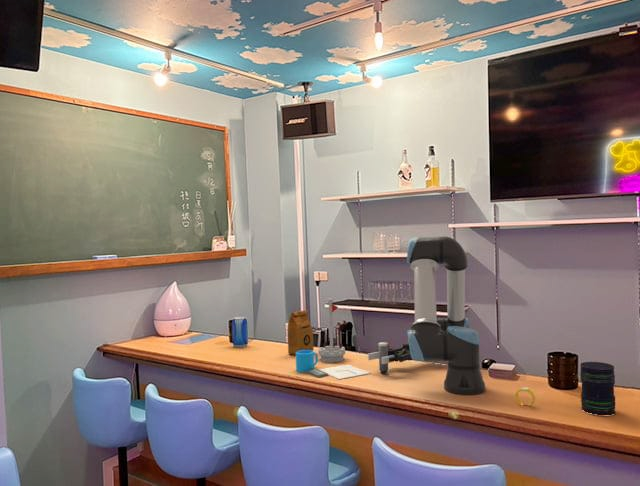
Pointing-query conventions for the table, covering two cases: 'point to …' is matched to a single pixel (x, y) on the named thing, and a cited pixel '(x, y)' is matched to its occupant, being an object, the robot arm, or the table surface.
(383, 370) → the marker
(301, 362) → the mug
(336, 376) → the paper
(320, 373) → the dark grey flat block
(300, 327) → the coffee package
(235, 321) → the beer can
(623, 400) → the table surface
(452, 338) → the robot arm
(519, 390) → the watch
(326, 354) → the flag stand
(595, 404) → the storage jar
